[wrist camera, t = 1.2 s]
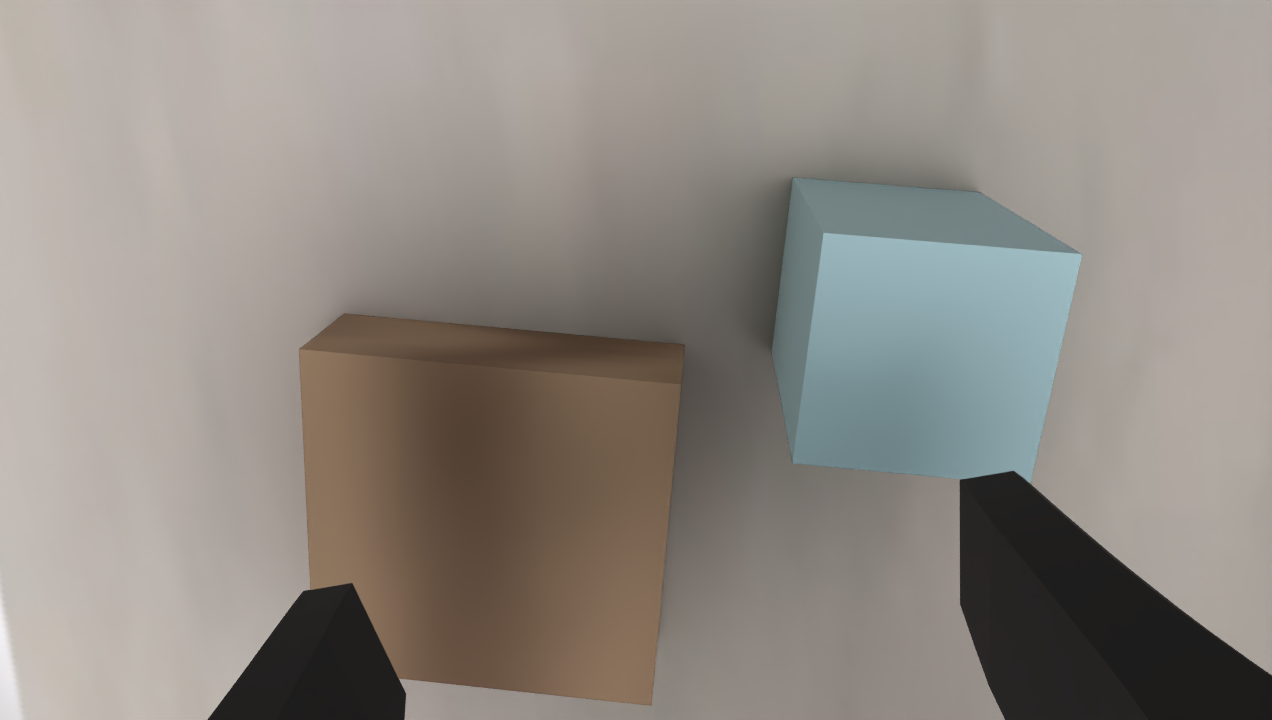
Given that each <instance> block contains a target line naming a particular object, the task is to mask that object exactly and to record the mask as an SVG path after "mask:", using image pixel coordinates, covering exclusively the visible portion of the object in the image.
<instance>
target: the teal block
mask: <svg viewBox="0 0 1272 720" xmlns="http://www.w3.org/2000/svg"><path fill="white" fill-rule="evenodd" d="M1081 257H1082V254H1081V253H1079V252H1078V251H1076V250H1074V249H1073V248H1071V247H1069V246H1068V245H1066V244H1065V243H1063V242H1061V241H1060V240H1058V239H1056V238H1055V237H1053V236H1051V235H1050V234H1048V233H1046V232H1045V231H1043V230H1041V229H1040V228H1038V227H1037V226H1035V225H1033V224H1032V223H1030V222H1028V221H1027V220H1025V219H1023V218H1022V217H1020V216H1018V215H1017V214H1015V213H1013V212H1012V211H1010V210H1008V209H1007V208H1005V207H1004V206H1002V205H1000V204H999V203H997V202H995V201H994V200H992V199H990V198H989V197H987V196H985V195H984V194H982V193H980V192H969V191H956V190H944V189H931V188H919V187H906V186H894V185H881V184H869V183H856V182H844V181H831V180H819V179H806V178H794V177H793V181H792V189H791V197H790V205H789V213H788V222H787V230H786V238H785V246H784V254H783V263H782V271H781V279H780V287H779V295H778V304H777V312H776V320H775V328H774V336H773V345H772V357H773V363H774V368H775V373H776V379H777V384H778V389H779V394H780V400H781V405H782V410H783V416H784V421H785V426H786V432H787V437H788V442H789V447H790V453H791V458H792V463H793V464H804V465H815V466H826V467H836V468H847V469H858V470H868V471H879V472H890V473H900V474H911V475H922V476H932V477H943V478H954V479H967V478H973V477H979V476H985V475H991V474H997V473H1003V472H1009V471H1015V472H1016V473H1018V474H1019V475H1020V476H1022V477H1023V478H1024V479H1025V480H1027V481H1028V482H1029V483H1030V482H1031V478H1032V474H1033V469H1034V465H1035V460H1036V456H1037V452H1038V447H1039V443H1040V438H1041V434H1042V429H1043V425H1044V421H1045V416H1046V412H1047V407H1048V403H1049V399H1050V394H1051V390H1052V385H1053V381H1054V376H1055V372H1056V368H1057V363H1058V359H1059V354H1060V350H1061V346H1062V341H1063V337H1064V332H1065V328H1066V324H1067V319H1068V315H1069V310H1070V306H1071V301H1072V297H1073V293H1074V288H1075V284H1076V279H1077V275H1078V271H1079V266H1080V262H1081Z"/></svg>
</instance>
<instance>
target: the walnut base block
mask: <svg viewBox="0 0 1272 720" xmlns="http://www.w3.org/2000/svg"><path fill="white" fill-rule="evenodd" d="M684 347H685V345H683V344H672V343H661V342H650V341H639V340H628V339H617V338H606V337H595V336H584V335H573V334H562V333H551V332H540V331H529V330H518V329H507V328H496V327H485V326H474V325H463V324H452V323H441V322H430V321H419V320H408V319H397V318H386V317H375V316H364V315H353V314H343V315H342V316H341V317H340V318H338V319H337V320H336V321H334V322H333V323H332V324H331V325H329V326H328V327H327V328H326V329H324V330H323V331H322V332H320V333H319V334H318V335H317V336H315V337H314V338H313V339H311V340H310V341H309V342H308V343H306V344H305V345H304V346H303V347H301V348H300V349H299V358H300V379H301V400H302V421H303V442H304V463H305V485H306V506H307V527H308V548H309V569H310V590H313V589H319V588H325V587H331V586H337V585H342V584H348V583H353V585H354V587H355V589H356V592H357V594H358V596H359V598H360V600H361V602H362V604H363V606H364V608H365V610H366V612H367V614H368V616H369V618H370V620H371V623H372V625H373V627H374V629H375V631H376V633H377V635H378V637H379V639H380V641H381V643H382V645H383V647H384V649H385V652H386V654H387V656H388V658H389V660H390V662H391V664H392V666H393V668H394V670H395V672H396V674H397V676H398V678H400V679H409V680H419V681H428V682H437V683H446V684H456V685H465V686H474V687H483V688H493V689H502V690H511V691H521V692H530V693H539V694H548V695H558V696H567V697H576V698H585V699H595V700H604V701H613V702H622V703H632V704H641V705H650V706H652V695H653V685H654V674H655V663H656V652H657V642H658V631H659V620H660V609H661V599H662V588H663V577H664V566H665V556H666V545H667V534H668V523H669V513H670V502H671V491H672V480H673V470H674V459H675V448H676V437H677V427H678V416H679V405H680V394H681V383H682V371H683V359H684Z"/></svg>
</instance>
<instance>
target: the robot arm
mask: <svg viewBox="0 0 1272 720" xmlns="http://www.w3.org/2000/svg"><path fill="white" fill-rule="evenodd" d="M960 605H961V608H962V611H963V614H964V616H965V619H966V622H967V625H968V628H969V631H970V634H971V637H972V640H973V643H974V646H975V649H976V651H977V654H978V657H979V660H980V662H981V665H982V668H983V671H984V673H985V676H986V679H987V682H988V684H989V687H990V689H991V691H992V693H993V695H994V697H995V699H996V702H997V704H998V706H999V708H1000V710H1001V712H1002V714H1003V716H1004V718H1005V720H1272V675H1271V674H1269V673H1268V672H1266V671H1265V670H1263V669H1262V668H1260V667H1259V666H1257V665H1256V664H1254V663H1253V662H1252V661H1250V660H1249V659H1247V658H1246V657H1245V656H1243V655H1242V654H1241V653H1239V652H1238V651H1236V650H1235V649H1234V648H1232V647H1231V646H1229V645H1228V644H1227V643H1225V642H1224V641H1222V640H1221V639H1220V638H1218V637H1217V636H1215V635H1214V634H1213V633H1211V632H1210V631H1209V630H1207V629H1206V628H1205V627H1203V626H1202V625H1201V624H1199V623H1198V622H1197V621H1195V620H1194V619H1193V618H1191V617H1190V616H1189V615H1187V614H1186V613H1185V612H1183V611H1182V610H1181V609H1179V608H1178V607H1177V606H1176V605H1174V604H1173V603H1172V602H1170V601H1169V600H1168V599H1167V598H1165V597H1164V596H1163V595H1162V594H1160V593H1159V592H1158V591H1157V590H1155V589H1154V588H1153V587H1152V586H1150V585H1149V584H1148V583H1146V582H1145V581H1144V580H1143V579H1141V578H1140V577H1139V576H1138V575H1136V574H1135V573H1134V572H1133V571H1131V570H1130V569H1129V568H1128V567H1126V566H1125V565H1124V564H1123V563H1122V562H1120V561H1119V560H1118V559H1117V558H1115V557H1114V556H1113V555H1112V554H1111V553H1109V552H1108V551H1107V550H1106V549H1105V548H1103V547H1102V546H1101V545H1100V544H1099V543H1098V542H1096V541H1095V540H1094V539H1093V538H1092V537H1091V536H1089V535H1088V534H1087V533H1086V532H1085V531H1083V530H1082V529H1081V528H1080V527H1079V526H1078V525H1076V524H1075V523H1074V522H1073V521H1072V520H1071V519H1070V518H1068V517H1067V516H1066V515H1065V514H1064V513H1063V512H1062V511H1060V510H1059V509H1058V508H1057V507H1056V506H1055V505H1054V504H1052V503H1051V502H1050V501H1049V500H1048V499H1047V498H1046V497H1045V496H1043V495H1042V494H1041V493H1040V492H1039V491H1038V490H1037V489H1036V488H1034V487H1033V486H1032V485H1031V484H1030V483H1029V482H1028V481H1027V480H1025V479H1024V478H1023V477H1022V476H1020V475H1019V474H1018V473H1016V472H1015V471H1009V472H1003V473H997V474H991V475H985V476H979V477H973V478H967V479H961V480H960ZM405 701H406V693H405V691H404V689H403V687H402V685H401V683H400V681H399V678H398V676H397V674H396V672H395V670H394V668H393V666H392V664H391V662H390V660H389V658H388V656H387V654H386V652H385V649H384V647H383V645H382V643H381V641H380V639H379V637H378V635H377V633H376V631H375V629H374V627H373V625H372V623H371V620H370V618H369V616H368V614H367V612H366V610H365V608H364V606H363V604H362V602H361V600H360V598H359V596H358V594H357V592H356V589H355V587H354V585H353V583H348V584H342V585H337V586H331V587H325V588H319V589H313V590H307V591H303V592H302V594H301V595H300V596H299V597H298V599H297V600H296V601H295V603H294V604H293V605H292V606H291V608H290V609H289V610H288V612H287V613H286V614H285V616H284V617H283V619H282V620H281V621H280V623H279V624H278V625H277V627H276V628H275V629H274V631H273V632H272V634H271V635H270V636H269V638H268V639H267V640H266V642H265V643H264V644H263V646H262V647H261V649H260V650H259V651H258V653H257V654H256V655H255V657H254V658H253V659H252V661H251V662H250V664H249V665H248V666H247V668H246V669H245V670H244V672H243V673H242V674H241V676H240V677H239V678H238V680H237V681H236V683H235V684H234V685H233V687H232V688H231V689H230V691H229V692H228V693H227V695H226V696H225V697H224V699H223V700H222V701H221V703H220V704H219V705H218V707H217V708H216V709H215V711H214V712H213V713H212V715H211V716H210V717H209V718H208V720H404V717H405Z"/></svg>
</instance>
